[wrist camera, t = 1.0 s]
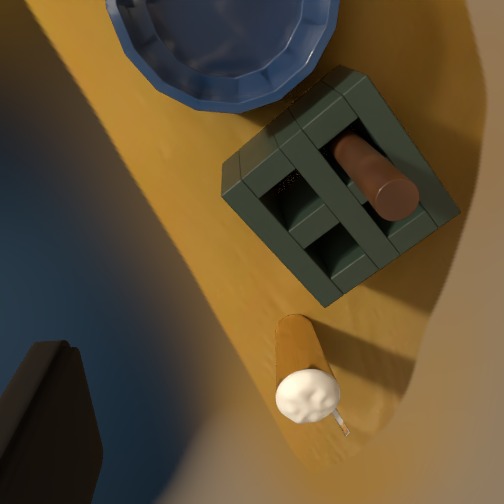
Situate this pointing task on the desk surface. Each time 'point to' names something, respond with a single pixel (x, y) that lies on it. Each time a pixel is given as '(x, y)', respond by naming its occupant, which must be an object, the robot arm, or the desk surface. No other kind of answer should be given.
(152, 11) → the bowl
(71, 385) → the robot arm
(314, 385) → the beer glass
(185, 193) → the desk surface
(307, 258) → the holder
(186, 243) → the desk surface
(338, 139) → the stick
